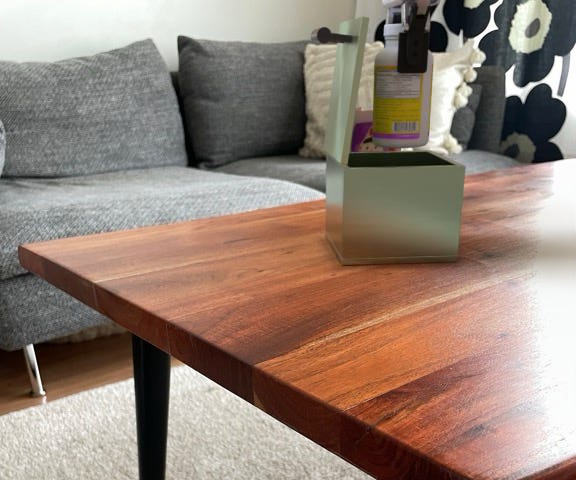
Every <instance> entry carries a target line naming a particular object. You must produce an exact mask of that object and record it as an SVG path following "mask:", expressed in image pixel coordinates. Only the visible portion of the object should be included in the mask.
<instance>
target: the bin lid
mask: <svg viewBox="0 0 576 480" xmlns="http://www.w3.org/2000/svg"><path fill="white" fill-rule="evenodd" d="M369 23H370V17H369V16H359V17H356V18H352V19H348V20H345V21H342V22H340V23H339V31H338V33H336V32H332V30H331V29H330V28H329V27H327V26H322V27H318V28H315V29H313V30H312V31H311V33H310V41H311V42H312V43H313V44H314V45H325V44H329V42H330V43H337V45H336V51H335V58H334V59H335V60H334V67H333V74H332V81H331V82H332V83H331V90H330V96H329V103H328V111H327V118H326V125H325V134H324V141H323V149H324V150H325V151H326V153H327V152H328V153H329V154H331V155H332V156H333V157H334V158H335V159H336V160H337V161H338V162H339V163H340V164H346V165H347V164H348V158H349V151H350V144H351V137H352V131H353V124H354V117H355V111H356V108H357V105H358V104H357V103H358V96H359V89H360V85H361V84H360V83H361V76H362V70H363V63H364V57H365V51H366V50H365V49H366V43H367V37H368V29H369Z"/></svg>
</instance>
